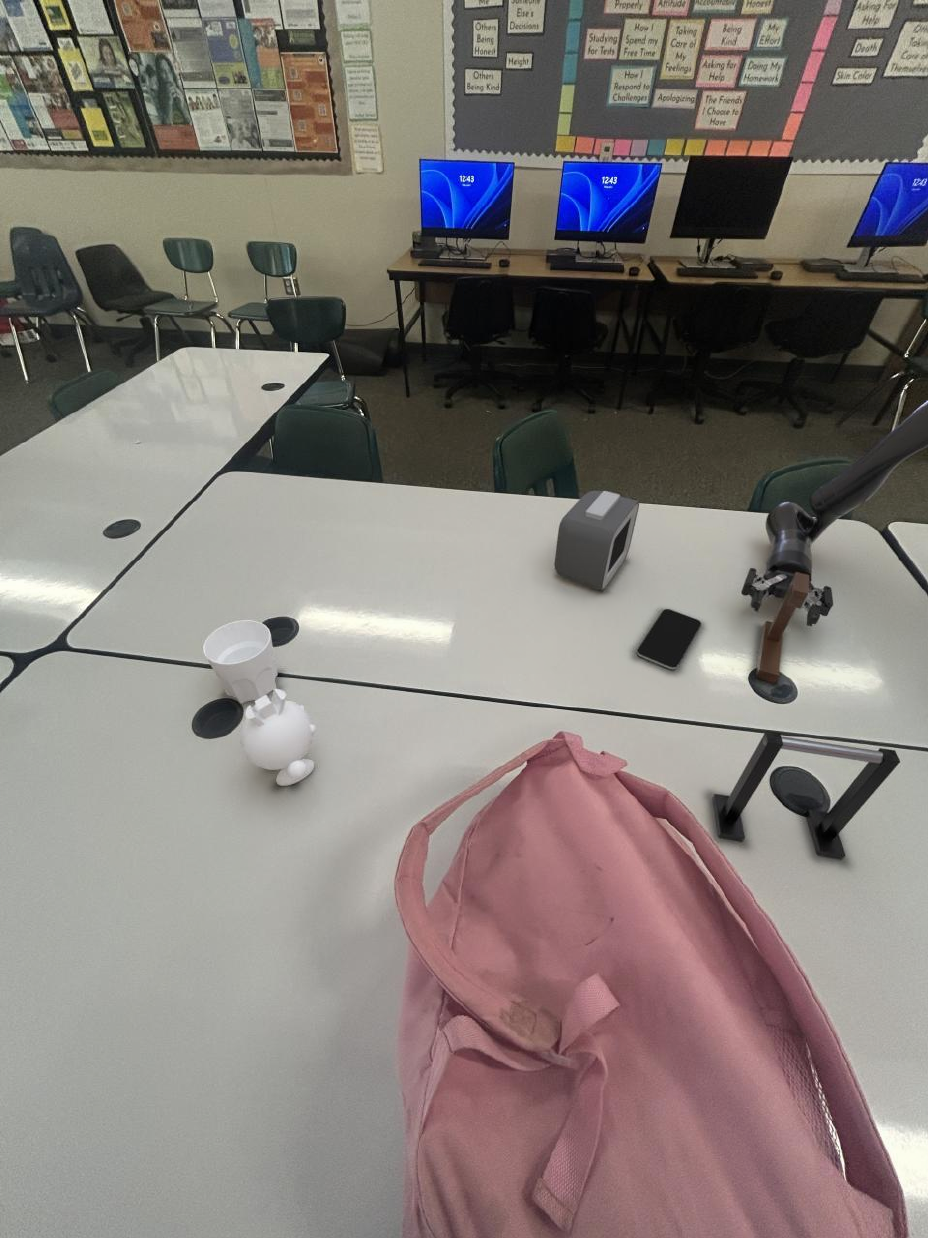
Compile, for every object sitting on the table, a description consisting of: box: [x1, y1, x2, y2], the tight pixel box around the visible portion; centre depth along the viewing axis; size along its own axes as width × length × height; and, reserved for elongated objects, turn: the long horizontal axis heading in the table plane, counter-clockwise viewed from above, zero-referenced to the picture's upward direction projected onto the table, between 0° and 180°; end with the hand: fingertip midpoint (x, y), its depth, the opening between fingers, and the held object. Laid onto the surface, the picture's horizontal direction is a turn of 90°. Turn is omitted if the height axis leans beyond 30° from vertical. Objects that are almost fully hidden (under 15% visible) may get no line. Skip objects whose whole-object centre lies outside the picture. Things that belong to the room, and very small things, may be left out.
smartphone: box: [636, 608, 702, 670], centre depth 102 cm, size 7×1×15 cm
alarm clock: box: [553, 490, 640, 592], centre depth 114 cm, size 16×11×16 cm
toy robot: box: [239, 688, 317, 787], centre depth 77 cm, size 15×10×15 cm, turn 36°
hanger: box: [755, 572, 809, 684], centre depth 94 cm, size 3×14×15 cm, turn 154°
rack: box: [712, 730, 901, 860], centre depth 69 cm, size 15×6×18 cm, turn 79°
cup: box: [202, 619, 279, 704], centre depth 91 cm, size 10×10×10 cm
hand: (784, 614), depth 97 cm, fingers open, 8 cm apart
